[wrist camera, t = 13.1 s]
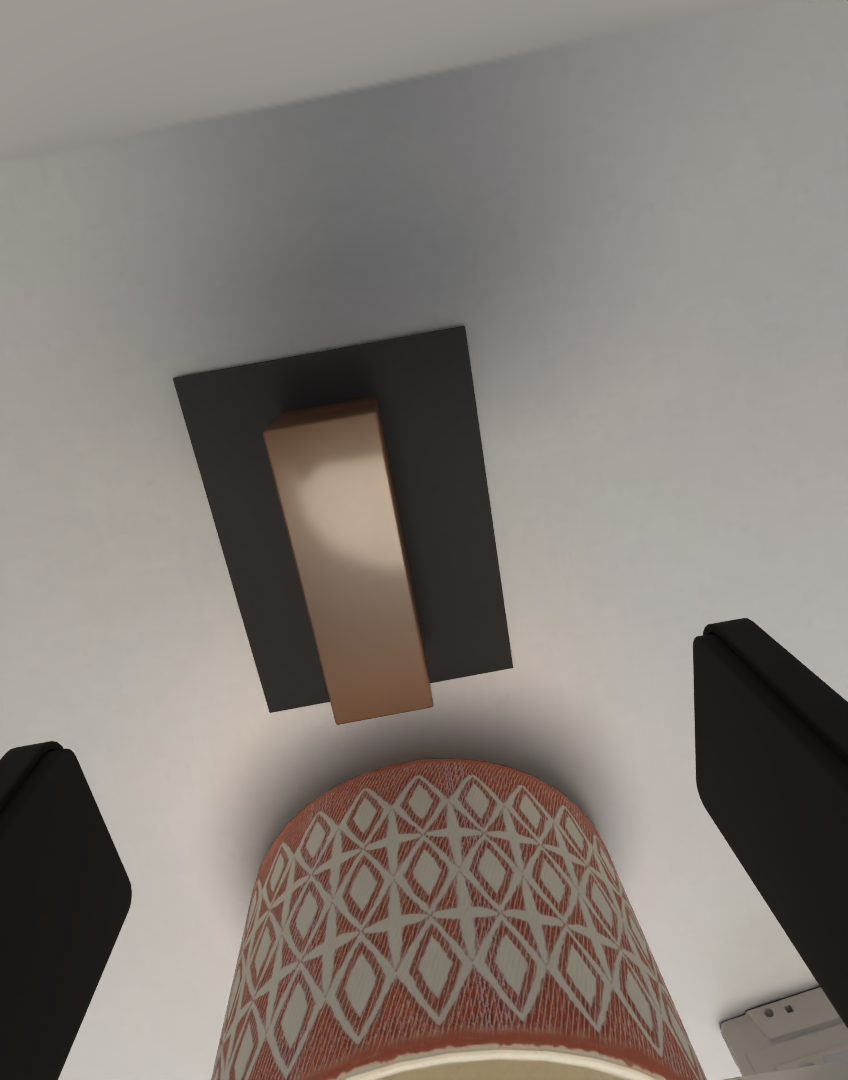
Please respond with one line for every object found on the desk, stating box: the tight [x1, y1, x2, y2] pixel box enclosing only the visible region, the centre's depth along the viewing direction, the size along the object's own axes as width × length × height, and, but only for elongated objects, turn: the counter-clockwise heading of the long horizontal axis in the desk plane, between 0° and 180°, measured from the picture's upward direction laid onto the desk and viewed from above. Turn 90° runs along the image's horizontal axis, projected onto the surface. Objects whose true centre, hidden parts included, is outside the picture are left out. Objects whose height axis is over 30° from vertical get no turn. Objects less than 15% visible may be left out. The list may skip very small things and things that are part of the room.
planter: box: [211, 759, 707, 1080], centre depth 29 cm, size 19×19×15 cm
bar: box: [263, 396, 433, 725], centre depth 26 cm, size 12×4×5 cm, turn 10°
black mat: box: [173, 326, 513, 713], centre depth 29 cm, size 16×12×1 cm
